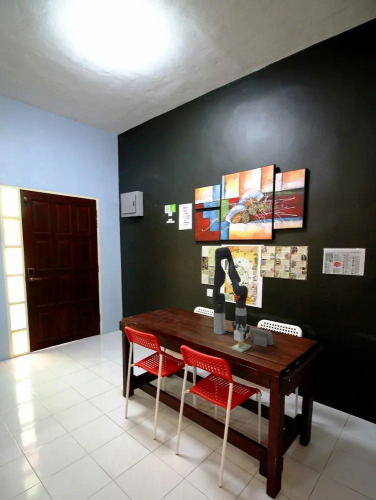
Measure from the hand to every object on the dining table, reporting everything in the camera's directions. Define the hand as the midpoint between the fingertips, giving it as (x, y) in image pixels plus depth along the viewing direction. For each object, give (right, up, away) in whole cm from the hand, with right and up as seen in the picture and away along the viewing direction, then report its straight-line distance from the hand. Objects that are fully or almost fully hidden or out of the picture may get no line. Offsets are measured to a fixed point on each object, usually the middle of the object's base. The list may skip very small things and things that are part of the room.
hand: (241, 337), depth 170 cm
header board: (0, -7, 0) cm, 7 cm away
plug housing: (0, -1, 0) cm, 1 cm away
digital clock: (+17, -8, +8) cm, 20 cm away
